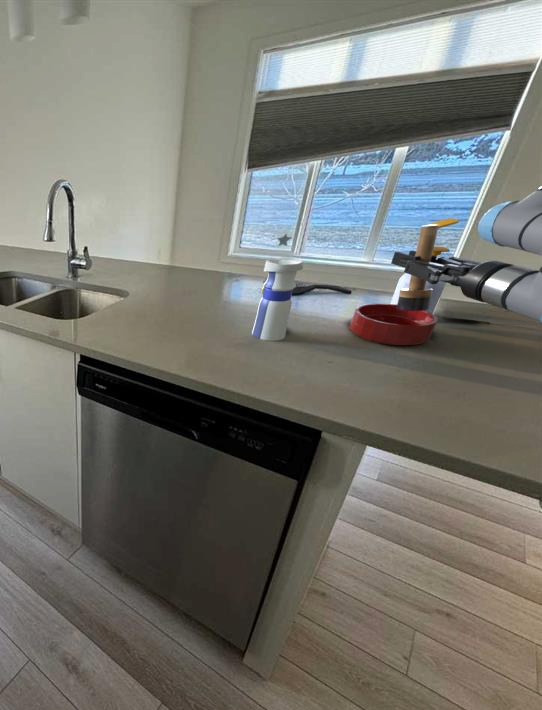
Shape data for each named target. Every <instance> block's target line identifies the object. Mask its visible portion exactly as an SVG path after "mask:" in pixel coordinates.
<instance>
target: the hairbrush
mask: <svg viewBox="0 0 542 710" xmlns="http://www.w3.org/2000/svg"><path fill="white" fill-rule="evenodd" d="M267 278H268V277H266V278H265V280H263V282H262V284H264V283H265V282H266V280H267ZM295 285H296V287H295V288H294V289H293V292H292V296H300V295H304V294H306V293H309V292H312V291H313V290H329V291H333V292H338V293H342V294H347V295H351V294H352V292H353V291H352V290H351V289H348V288H345V287H342V286H339V285H333V284H310V283H309V284H308V283H306V284H304V285H303V283H299V284H295ZM292 296H291V297H292Z"/></svg>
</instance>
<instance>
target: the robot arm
mask: <svg viewBox="0 0 542 710" xmlns="http://www.w3.org/2000/svg"><path fill="white" fill-rule="evenodd" d="M477 231H478V235H479V237H480V238H481V239H483V240H484V241H486V242H488V243H492V244H494V245H497V246H498V247H502V248H503V247H507V248H511V249H515V250H520V251H523V252H526V253H531V254H534V255H538V256H542V186H540V187H539V188H538V189H537V190H535V191H534V192H532V193H531V194H529V195H528V196H525V198H523V199H522V200H510V201H504V202H502V203H500V204H496V205H494V206H493V207H491V208H489V210H488V211H486V212H485V213H484V214H483V216H482V217H481V219H480V220H479V223H478V226H477ZM415 255H416V250H409V253H403V252H400V251H394V254H393V256H392V259H391V262H390V264H391V265H394V266H398V267H401V268H404V270H403V273H404V274H405V273H407V274H410V275H413V276H415V277H418V278H421V279H423V280H426V281H428V282H429V283H430V284H437V283H438V282H439V281H443V282H446V284H447V283H448V284H449V285H451V286H453V287H459V289H460V291H461V293H462V295H463V296H464V297H466V298H468V299H472V300H474V301H477V302H480V303H485V304H488V305H491V306H494V307H497V308H499V309H501V312H503V313H505V312H511V313H515V314H518V315H521V316H524V317H527V318H530V319H531V320H535V321H537V322H541V323H542V265H540V267H539V269H535V268H531V267H526V266H522V265H515V264H511V263H508V262H503V261H500V260H487V261H485V262H480V261H475V260H470V259H465V258H461V257H456V256H449V257H446V256H439V257H438V255H437V256H433V255H432V258H431V262H428V261H423V260H420V259H421V258H420V257H421V256H415Z"/></svg>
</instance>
